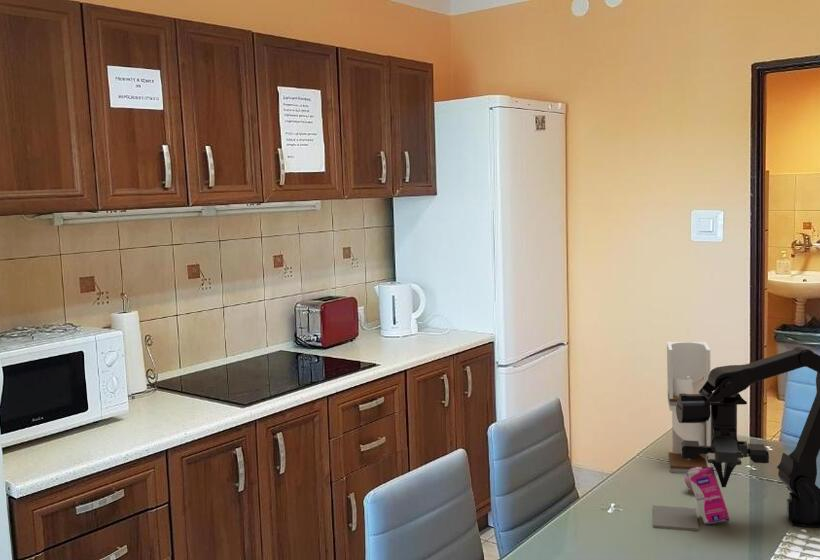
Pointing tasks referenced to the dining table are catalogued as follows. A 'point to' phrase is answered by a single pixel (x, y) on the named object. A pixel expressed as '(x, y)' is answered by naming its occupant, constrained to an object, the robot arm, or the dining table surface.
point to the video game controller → (687, 479)
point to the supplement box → (708, 496)
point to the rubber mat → (675, 518)
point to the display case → (687, 377)
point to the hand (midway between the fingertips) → (723, 486)
